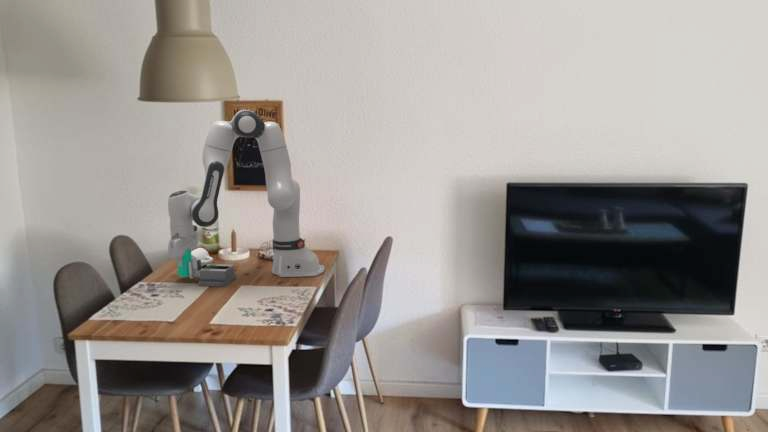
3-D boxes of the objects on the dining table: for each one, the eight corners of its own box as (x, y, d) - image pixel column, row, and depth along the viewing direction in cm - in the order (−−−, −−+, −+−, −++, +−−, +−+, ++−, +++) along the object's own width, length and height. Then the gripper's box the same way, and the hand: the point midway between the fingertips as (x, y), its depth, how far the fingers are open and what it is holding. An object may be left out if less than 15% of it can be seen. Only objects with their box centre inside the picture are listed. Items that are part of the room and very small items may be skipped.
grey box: (235, 277, 311) (234, 263, 309) (224, 286, 299) (223, 271, 298) (210, 277, 313) (209, 262, 311) (199, 285, 301) (197, 271, 300)
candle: (195, 272, 311) (192, 244, 308) (190, 276, 305) (187, 248, 302) (181, 272, 311) (178, 244, 309) (176, 276, 305) (173, 248, 303)
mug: (182, 270, 323) (180, 253, 321) (194, 264, 332) (192, 247, 331) (206, 272, 320) (205, 254, 318) (218, 266, 329) (216, 248, 327)
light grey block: (216, 274, 309) (215, 258, 307) (210, 279, 303) (209, 262, 301) (195, 274, 310) (194, 258, 309) (189, 278, 305) (188, 262, 303)
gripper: (177, 237, 293) (180, 271, 296) (199, 225, 313) (202, 257, 316) (162, 237, 295) (166, 270, 298) (185, 225, 314) (188, 256, 317)
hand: (184, 263), depth 307 cm, fingers closed on candle, 5 cm apart
